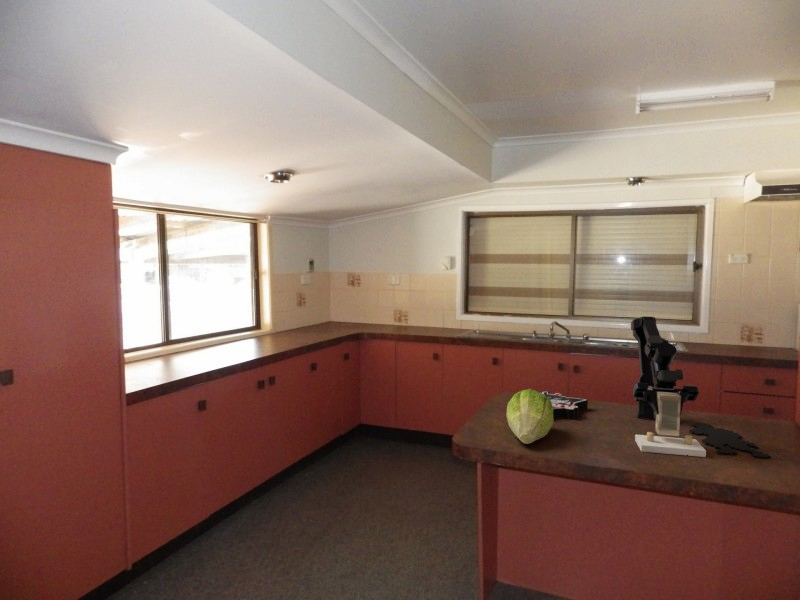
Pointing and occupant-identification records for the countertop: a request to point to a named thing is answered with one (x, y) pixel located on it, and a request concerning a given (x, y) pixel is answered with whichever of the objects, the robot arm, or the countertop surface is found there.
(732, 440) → the ragged black cutout
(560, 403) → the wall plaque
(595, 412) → the countertop surface
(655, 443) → the white peg rack
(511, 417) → the lettuce
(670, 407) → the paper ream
